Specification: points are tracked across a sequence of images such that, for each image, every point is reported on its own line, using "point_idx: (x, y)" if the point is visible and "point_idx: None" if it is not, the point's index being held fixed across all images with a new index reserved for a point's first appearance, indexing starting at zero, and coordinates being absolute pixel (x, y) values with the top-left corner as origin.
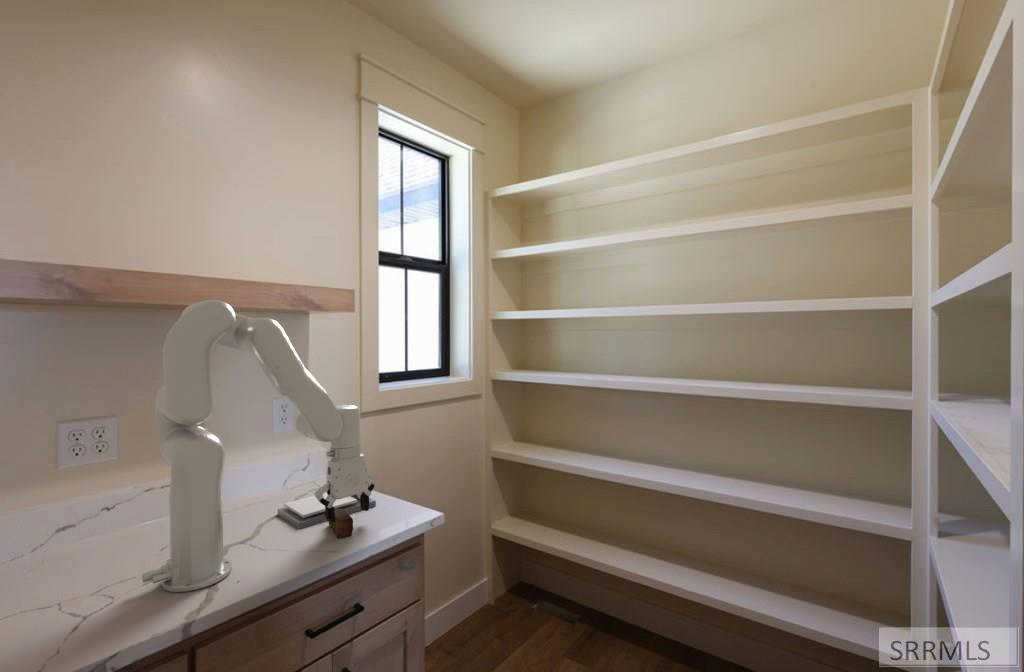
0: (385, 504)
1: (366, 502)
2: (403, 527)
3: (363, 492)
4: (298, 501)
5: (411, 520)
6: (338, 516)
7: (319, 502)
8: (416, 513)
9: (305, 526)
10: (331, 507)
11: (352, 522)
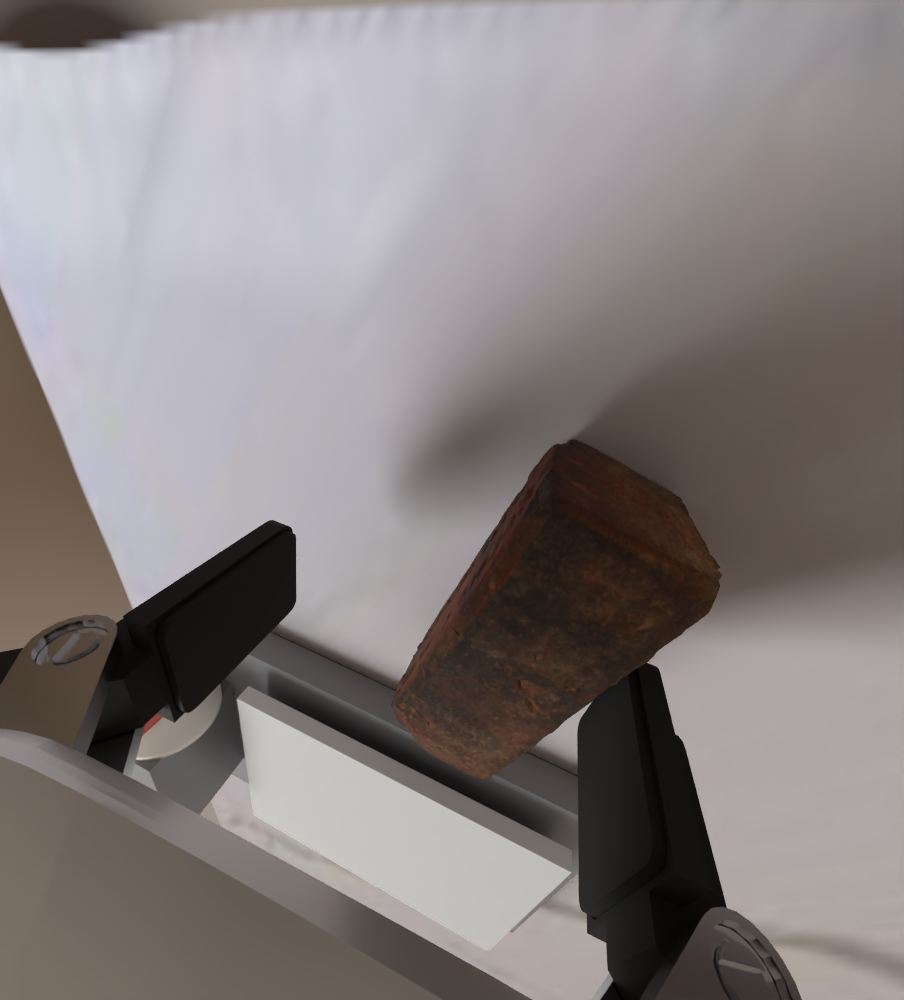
0: (158, 563)
1: (217, 579)
2: (203, 114)
3: (117, 719)
4: (434, 911)
5: (107, 198)
6: (572, 674)
7: (385, 840)
8: (51, 285)
9: (577, 779)
10: (702, 895)
11: (557, 474)
